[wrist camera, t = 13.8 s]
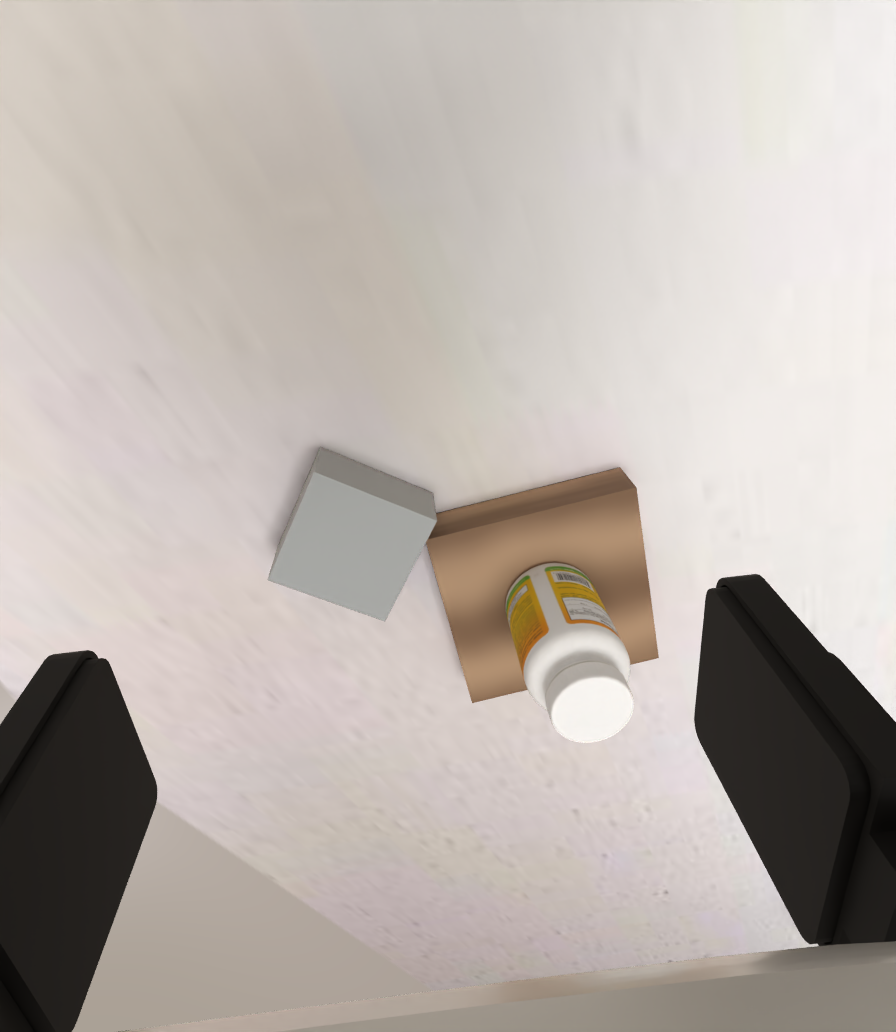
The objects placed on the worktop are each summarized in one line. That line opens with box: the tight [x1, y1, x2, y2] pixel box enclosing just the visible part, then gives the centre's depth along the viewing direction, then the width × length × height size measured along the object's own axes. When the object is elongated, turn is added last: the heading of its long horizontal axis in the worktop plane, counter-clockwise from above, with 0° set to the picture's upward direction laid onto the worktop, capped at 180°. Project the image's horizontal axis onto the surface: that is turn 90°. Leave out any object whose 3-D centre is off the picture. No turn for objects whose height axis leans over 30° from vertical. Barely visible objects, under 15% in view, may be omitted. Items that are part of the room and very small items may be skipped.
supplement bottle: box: [506, 563, 634, 743], centre depth 37 cm, size 5×5×10 cm
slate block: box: [268, 447, 437, 621], centre depth 40 cm, size 7×7×4 cm
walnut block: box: [426, 468, 659, 703], centre depth 43 cm, size 12×12×3 cm
